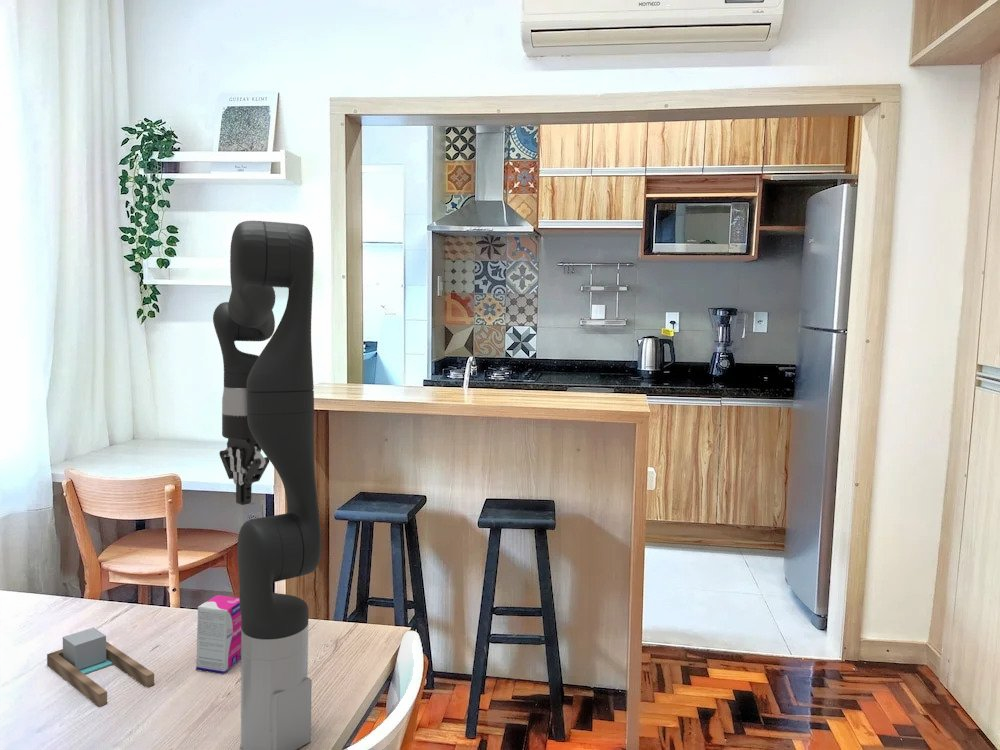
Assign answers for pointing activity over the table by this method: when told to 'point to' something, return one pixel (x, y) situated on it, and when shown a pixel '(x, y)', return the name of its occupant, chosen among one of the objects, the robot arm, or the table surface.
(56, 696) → the table surface
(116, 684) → the table surface
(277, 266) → the robot arm
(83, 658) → the block
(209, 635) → the supplement box
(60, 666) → the wooden u-shaped frame
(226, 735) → the table surface
